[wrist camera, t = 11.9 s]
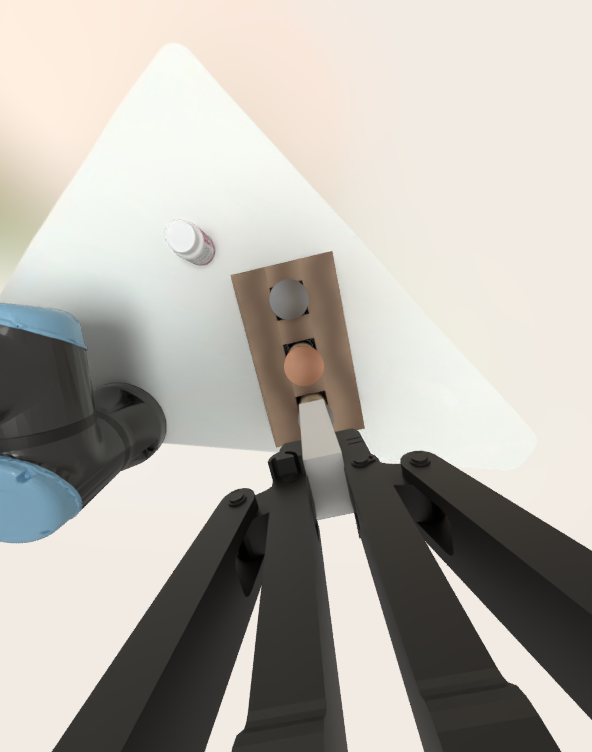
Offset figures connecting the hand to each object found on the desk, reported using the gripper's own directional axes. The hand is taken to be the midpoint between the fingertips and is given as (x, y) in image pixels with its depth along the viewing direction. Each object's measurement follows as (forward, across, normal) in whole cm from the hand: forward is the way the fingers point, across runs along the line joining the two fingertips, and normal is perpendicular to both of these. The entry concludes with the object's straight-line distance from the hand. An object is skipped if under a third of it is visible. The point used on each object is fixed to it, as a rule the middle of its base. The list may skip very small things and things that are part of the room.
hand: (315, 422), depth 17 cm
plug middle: (+29, 0, 0) cm, 29 cm away
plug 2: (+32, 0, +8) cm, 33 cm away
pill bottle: (+33, -12, +19) cm, 40 cm away
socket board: (+32, 0, 0) cm, 32 cm away
